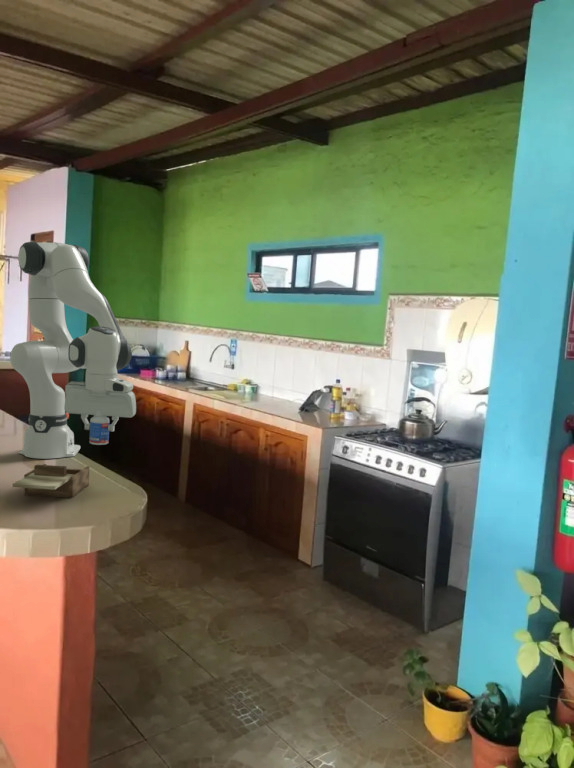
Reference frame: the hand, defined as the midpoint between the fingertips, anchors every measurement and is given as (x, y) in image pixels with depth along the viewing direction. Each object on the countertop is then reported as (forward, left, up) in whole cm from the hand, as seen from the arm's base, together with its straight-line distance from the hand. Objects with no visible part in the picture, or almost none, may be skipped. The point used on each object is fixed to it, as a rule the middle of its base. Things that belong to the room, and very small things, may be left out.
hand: (99, 430), depth 185 cm
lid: (+21, -8, -11) cm, 24 cm away
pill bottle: (0, 0, -4) cm, 4 cm away
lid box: (+11, -8, -15) cm, 20 cm away
